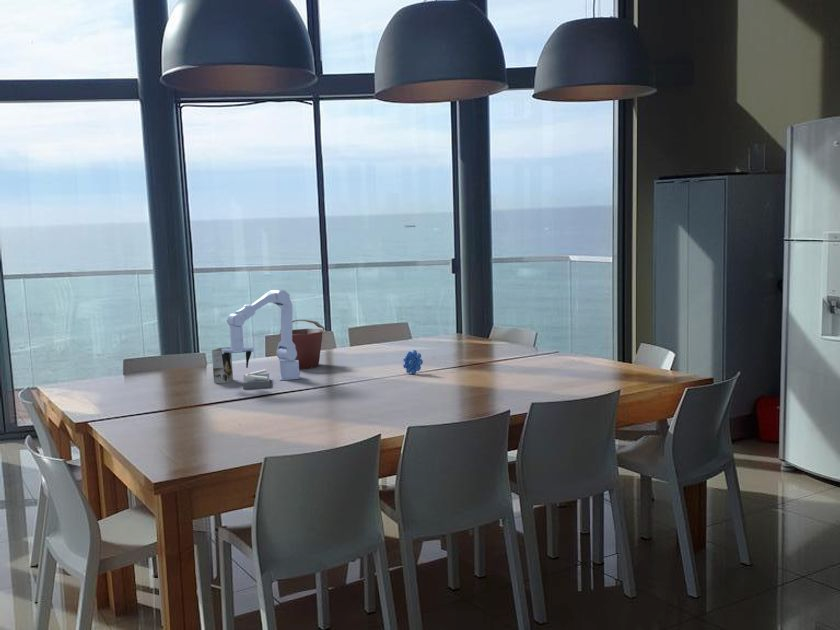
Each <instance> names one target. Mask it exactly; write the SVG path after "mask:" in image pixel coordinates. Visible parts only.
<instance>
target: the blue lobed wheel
mask: <svg viewBox="0 0 840 630" xmlns="http://www.w3.org/2000/svg"><path fill="white" fill-rule="evenodd" d="M402 359H403V364H402V367H403V369H406V370H405V373H407V374H412V375H415V374H417V372H420V371H421V369H422V365H423V364H424V363H423V362H424V360H423V359H422V353H419V352H418V351H417V350H416V349H415V350H414V349H413V350H412V351H407V352H406V356H404V357H403V358H402Z"/></svg>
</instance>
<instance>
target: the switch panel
mask: <svg viewBox="0 0 840 630" xmlns="http://www.w3.org/2000/svg"><path fill="white" fill-rule="evenodd" d="M245 376H246V374H244V375H243V381H242V386H243V390H252V389H266V388H270V383H271V382H270V373H269V372H268V373H267V372H265V373H261V374H257V375H256V376H266V377H267V380H263V379H253V378H245Z"/></svg>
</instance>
